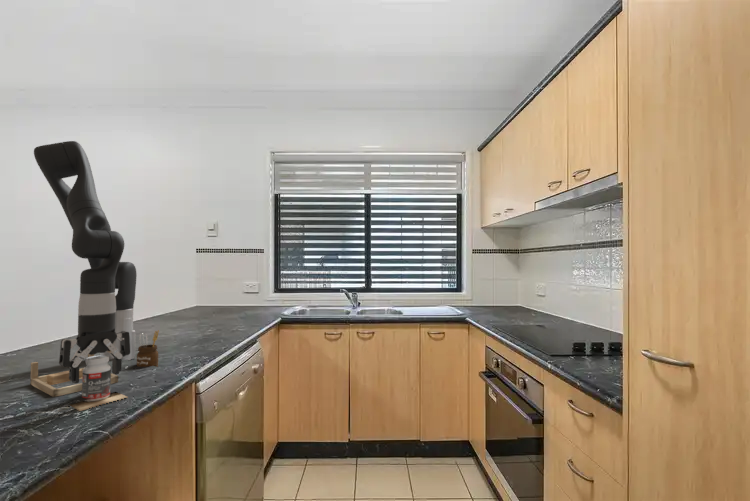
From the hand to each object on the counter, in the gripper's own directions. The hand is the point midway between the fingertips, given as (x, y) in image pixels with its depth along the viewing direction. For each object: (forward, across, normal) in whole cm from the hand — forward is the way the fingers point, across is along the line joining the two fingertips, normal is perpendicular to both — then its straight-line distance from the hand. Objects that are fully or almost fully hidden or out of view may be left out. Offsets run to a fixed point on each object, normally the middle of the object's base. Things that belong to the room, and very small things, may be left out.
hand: (96, 378), depth 96 cm
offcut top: (+4, 0, -20) cm, 20 cm away
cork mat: (+5, 0, 0) cm, 5 cm away
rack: (+5, 0, -14) cm, 15 cm away
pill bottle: (+5, 0, 0) cm, 5 cm away
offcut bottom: (+6, 0, -20) cm, 20 cm away
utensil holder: (+6, -21, -18) cm, 28 cm away
